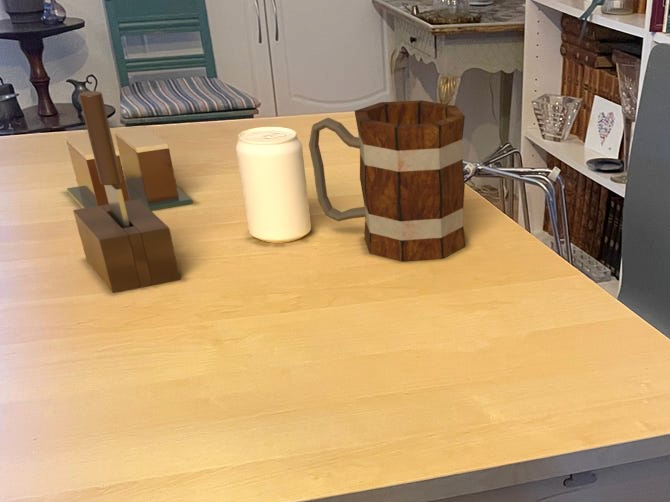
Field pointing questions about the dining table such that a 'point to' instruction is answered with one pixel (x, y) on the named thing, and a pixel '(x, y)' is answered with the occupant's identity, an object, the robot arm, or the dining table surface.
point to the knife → (104, 153)
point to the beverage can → (273, 184)
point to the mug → (404, 178)
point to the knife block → (127, 247)
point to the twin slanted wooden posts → (128, 170)
